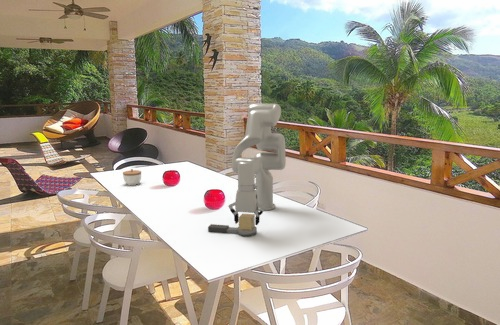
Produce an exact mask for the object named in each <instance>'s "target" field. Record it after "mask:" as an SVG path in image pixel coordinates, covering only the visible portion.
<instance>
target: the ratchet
mask: <svg viewBox="0 0 500 325" xmlns="http://www.w3.org/2000/svg"><path fill="white" fill-rule="evenodd" d="M207 231H208V233H219V234H235V235H238V236H240V237H244V238H249V237H251V238H252V237H254V236H256V235H257V233H258V231H257V227H256V226H255V227H254V228H253V230H252V231H247V230H239V226H238V227H235V226H233V227H231V226H229V225H225V224H215V223H214V224H213V223H211V224H210V225H208V227H207Z"/></svg>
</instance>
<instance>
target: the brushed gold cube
mask: <svg viewBox="0 0 500 325" xmlns="http://www.w3.org/2000/svg"><path fill="white" fill-rule="evenodd" d="M255 217H256V215H255V214H254V213H244V212H241V214H240V215H239V222H238V227H239V230H247V231H252V230H253V228H254V227H256V225H255Z"/></svg>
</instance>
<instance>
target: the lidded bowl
mask: <svg viewBox="0 0 500 325" xmlns="http://www.w3.org/2000/svg"><path fill="white" fill-rule="evenodd" d="M122 175H123V177H122V178H123V181H124V182H125V184H127V186H130V185H132V186H137V185H136V184H138V185H139V183H140V182H141V180H142V170H139V169H138V170H136V169H130V170H126V171H122Z"/></svg>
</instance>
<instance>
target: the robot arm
mask: <svg viewBox="0 0 500 325" xmlns="http://www.w3.org/2000/svg"><path fill="white" fill-rule="evenodd" d="M247 112H248V113H247V120H246V127H245V134H244V137H243V139H241V140H240V141H239V142H238V144H237V145H236V146H235V148H234V150H233V152H232V153H233V154H232V160H231V169H232V172H234V173H235V174H237V190H236V194H235V201H234V202H233V203H229V205H228V206H227V207H228V209H229V210H230V212H231V213H232V215H233V218H234V219H233V221H234V223H235V224H239V217H240V215H239V213H247V214H255V226H258V224H259V223H260V216H261V215H262V214H263V212H265V211H272V210H275V209H276V208H277V207H276V204H275V203H274V178H273V177H274V176H273V175H272V173H271V171H270V170H272V171H273V170H274V171H279V170H280V171H282V170H285V168H286V164H287V163H286V161H287V160H286V138H285V136H284V135H283V134H282V133H273V132H272V128H273V127H275V126H277V124H278V122H279V120H280V118H281V114H282V108H281V106H280V104H278V103H251V104H249V105H248V106H247ZM253 146H256V148H257V150H259V151H261V152H258V153H256V154H254V157H241V155H242V153H243V152H245V151H246V150H247V149H249V148H251V147H253ZM262 151H263V152H262ZM266 151H267V152H266ZM273 151H274V152H273ZM234 206H235V208H233V207H234Z"/></svg>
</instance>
